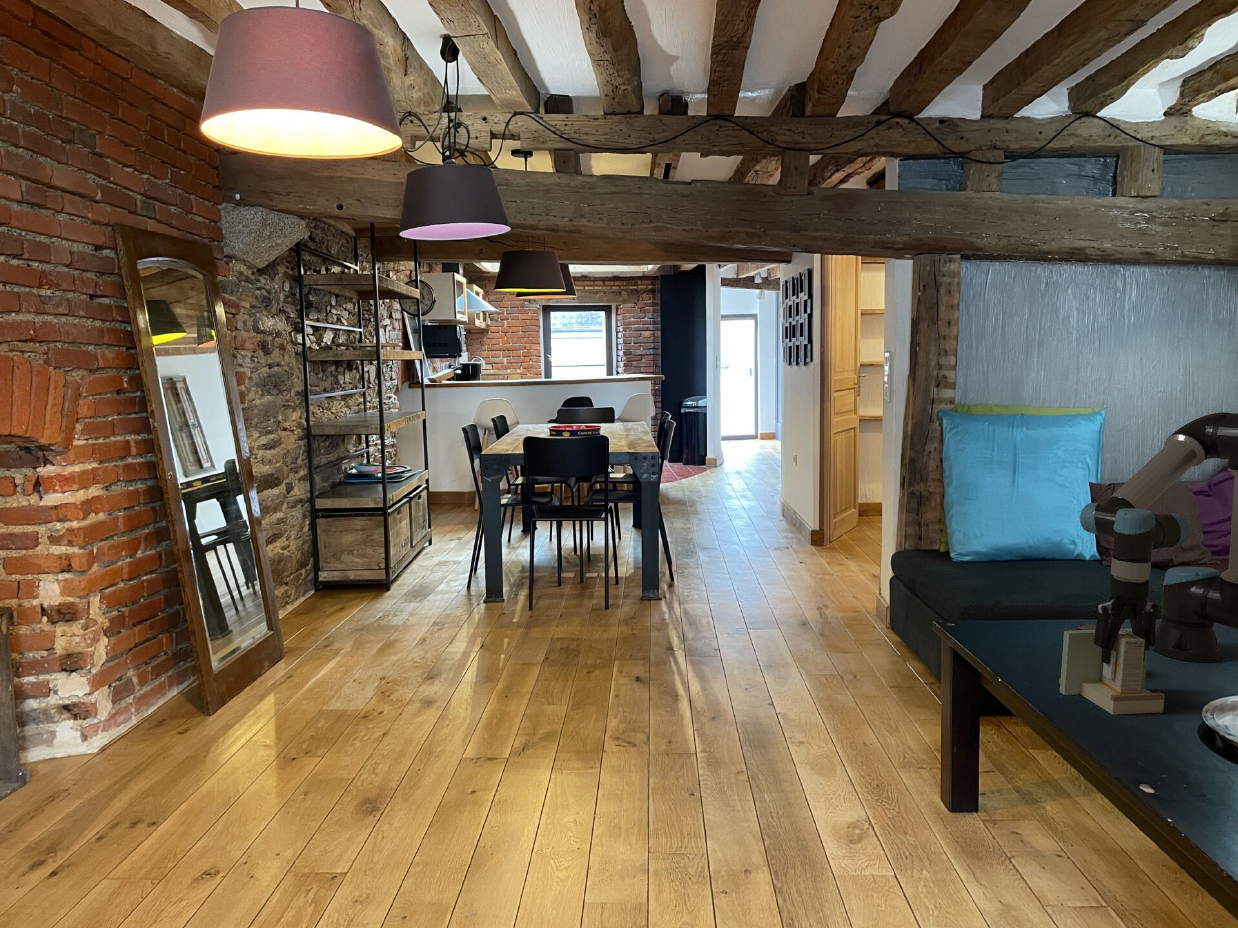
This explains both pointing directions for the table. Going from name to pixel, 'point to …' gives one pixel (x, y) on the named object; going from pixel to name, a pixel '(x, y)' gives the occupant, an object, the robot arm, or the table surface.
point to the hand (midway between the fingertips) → (1121, 675)
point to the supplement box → (1127, 664)
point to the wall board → (1100, 677)
